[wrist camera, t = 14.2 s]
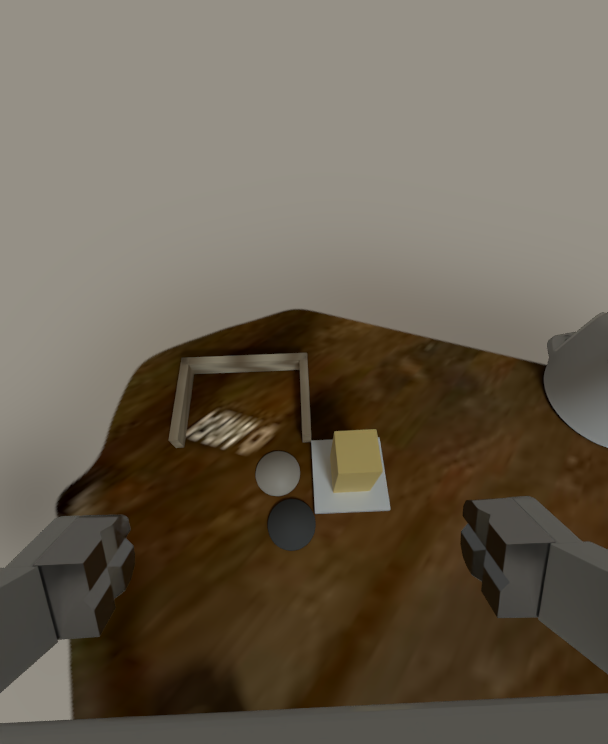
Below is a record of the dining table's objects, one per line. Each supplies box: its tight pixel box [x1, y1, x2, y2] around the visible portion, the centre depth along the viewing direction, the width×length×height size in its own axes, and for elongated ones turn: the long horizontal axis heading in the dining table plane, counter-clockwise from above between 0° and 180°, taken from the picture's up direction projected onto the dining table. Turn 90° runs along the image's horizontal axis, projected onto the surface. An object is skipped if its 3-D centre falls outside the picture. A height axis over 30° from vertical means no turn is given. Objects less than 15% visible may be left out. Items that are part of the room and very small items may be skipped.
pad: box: [311, 438, 390, 514], centre depth 40 cm, size 8×8×1 cm
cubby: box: [169, 353, 311, 448], centre depth 44 cm, size 16×11×2 cm
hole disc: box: [268, 499, 315, 551], centre depth 38 cm, size 5×5×1 cm
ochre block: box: [330, 429, 383, 493], centre depth 36 cm, size 4×4×8 cm
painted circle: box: [256, 451, 300, 496], centre depth 41 cm, size 5×5×1 cm
